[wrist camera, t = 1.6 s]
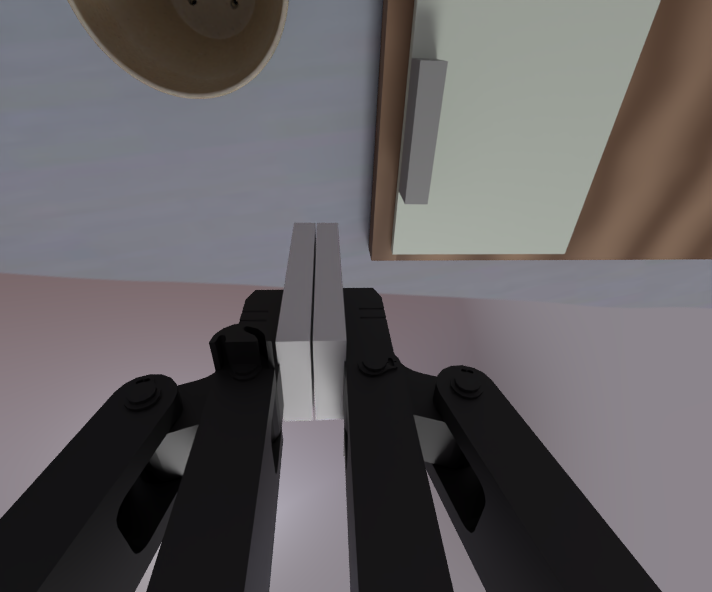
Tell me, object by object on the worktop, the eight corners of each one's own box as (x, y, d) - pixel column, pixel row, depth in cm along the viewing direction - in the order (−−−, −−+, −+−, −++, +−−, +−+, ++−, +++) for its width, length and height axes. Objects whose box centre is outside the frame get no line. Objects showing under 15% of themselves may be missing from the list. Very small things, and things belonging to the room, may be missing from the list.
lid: (391, 249, 31) (397, 270, 28) (419, -53, 21) (434, -67, 18) (559, 249, 32) (581, 269, 29) (665, -39, 22) (714, -49, 19)
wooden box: (368, 248, 33) (371, 260, 31) (387, -71, 22) (393, -81, 20) (705, 247, 35) (726, 259, 33) (878, -40, 24) (923, -46, 22)
